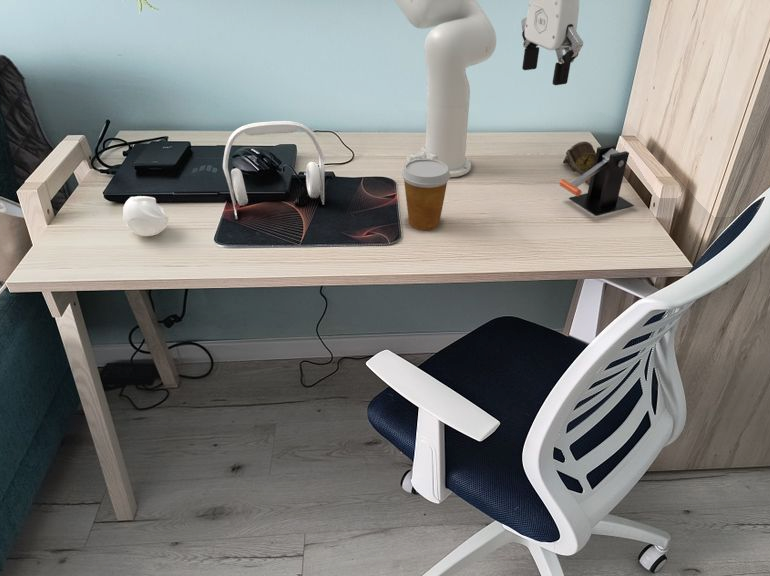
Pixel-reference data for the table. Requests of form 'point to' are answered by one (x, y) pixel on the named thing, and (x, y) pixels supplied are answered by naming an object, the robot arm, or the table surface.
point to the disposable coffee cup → (425, 191)
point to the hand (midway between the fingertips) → (544, 76)
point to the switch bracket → (605, 185)
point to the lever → (587, 174)
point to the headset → (312, 171)
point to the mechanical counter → (581, 158)
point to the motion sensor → (144, 216)
